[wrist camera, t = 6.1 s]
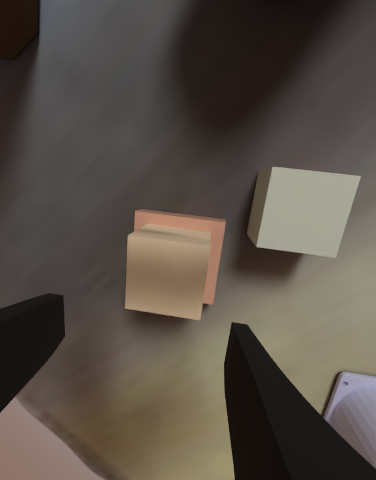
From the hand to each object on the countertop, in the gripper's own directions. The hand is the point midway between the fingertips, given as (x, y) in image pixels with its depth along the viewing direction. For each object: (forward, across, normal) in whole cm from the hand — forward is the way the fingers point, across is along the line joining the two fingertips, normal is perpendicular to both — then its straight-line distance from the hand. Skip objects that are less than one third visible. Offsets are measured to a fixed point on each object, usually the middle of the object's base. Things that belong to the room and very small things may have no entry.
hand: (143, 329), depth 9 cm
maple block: (+9, 0, 0) cm, 9 cm away
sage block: (+10, -8, -5) cm, 14 cm away
